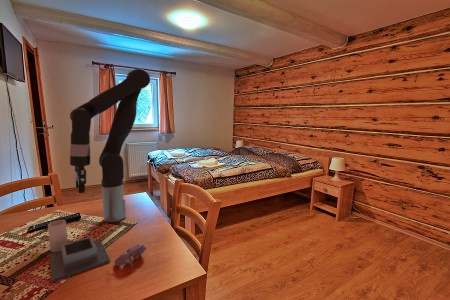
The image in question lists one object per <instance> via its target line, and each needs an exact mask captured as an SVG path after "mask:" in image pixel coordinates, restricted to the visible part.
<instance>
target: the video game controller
mask: <svg viewBox="0 0 450 300" xmlns="http://www.w3.org/2000/svg"><path fill="white" fill-rule="evenodd" d="M146 249H147V246H145V245H144V244H142V243H139V244H136V245H132V246H130V247H129V248H128V249H127V250H125V251H124V252H123V253H121V254H120V255H119V257H117V258H115V260H114V265H115V266H116V267H120V266H123V265H126V266H127V265H129V264H131V263H132V261H133V260H134V261H136V260H137V259H139V258H140V256H141V255H142V254H143V253H144V252H146Z"/></svg>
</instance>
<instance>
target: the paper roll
mask: <svg viewBox="0 0 450 300" xmlns="http://www.w3.org/2000/svg"><path fill="white" fill-rule="evenodd" d="M67 229H68V228H67V221H66V220H65V219H59V220H53V221H51V222H50V223H48V224H47V231H48V233H47V234H48V239H49V240H48V241H49V250H50V252H51V253H57V252H60V251H61V245H63V244H66V243H69V239H68V230H67Z"/></svg>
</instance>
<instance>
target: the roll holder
mask: <svg viewBox="0 0 450 300" xmlns="http://www.w3.org/2000/svg"><path fill="white" fill-rule="evenodd" d="M49 259H50V268H51V279H52V283H55V282H59V281H61V280H64V279H67V278H69V277H72V276H75V275H78V274H81V273H83V272H86V271H89V270H91V269H94V268H97V267H100V266H103V265H105V264H108V263H110V262H111V259H110V257H109V255H108V252H107V251H106V249H105V246H104V245H103V243H102V241H101V239H97V240H94V239H93V237H92V236H88V237H85V238H81V239H77V240H73V241H70V242H68V243H66V244H63V245H61V251H59V252H52V253H50V254H49Z"/></svg>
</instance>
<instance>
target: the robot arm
mask: <svg viewBox="0 0 450 300" xmlns="http://www.w3.org/2000/svg"><path fill="white" fill-rule="evenodd" d="M150 82H151V77H150V74H149V72H148V71H147V70H145V69H143V68H134V69H133V70H131V71H129V72H128V73H127V75H126V78H125V79H123V80H122V81H121V82H119V83H117V84H115V85H114V86H112V87H109V88H107V89H106V90H104V91H102V92H101V93H99V94H97V95H96V96H94V97H92V98H91V99H90V100H88V101H87V102H85V103H83V104H81V105H80V106H77V107H76V108H74V109H72V110H71V112H70V114H69V118H70V121H71V132H70V146H69V165H70V166H71V167H74V169H73V171H74V180H75V188H76V189H78V193H79V194H84V193H85V192H86V184H87V169H86V168H85V167H86V166H87V167H88V166H90V165H91V146H90V143H91V142H90V141H91V138H90V137H91V136H90V131H91V125H92V119H93V118H95V116H97V115H100V114H102V113H104V112H106V111H107V110H108V109H110V108H112V107H113V106H115V105H116V104H117V103H118V102H119V103H118V106H117V108H116V110H115V113H114V117H113V119H112V122H111V125H110V126H111V127H110V129H109V132H108V137H107V141H106V142H105V145H104V146H103V149H102V151H101V154H100V155H99V158H98V163H99V164H98V165H99V166H100V167H101V170H102V171H101V173H102V178H101V195H102V197H101V198H102V211H103V221H104V222H106V223H116V222H119V221H121V220H123V219H125V218H127V214H126V213H127V211H126V199H125V198H124V197H125V196H124V195H125V194H124V177H125V175H124V174H125V170H124V169H125V168H124V166H125V165H124V159H123V157H122V156H121V155H120V154H121V151H122V148H123V144H124V143H125V141H126V139H127V138H128V136H129V135H130V134H131V132H132V129H133V127H134V125H135V122H136V121H135V120H136V117H137V110H138V109H137V108H138V107H137V105H138V99H139V97H140V94H141V91H142V89H145V88H146V87H147V86H149V84H150Z"/></svg>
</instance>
